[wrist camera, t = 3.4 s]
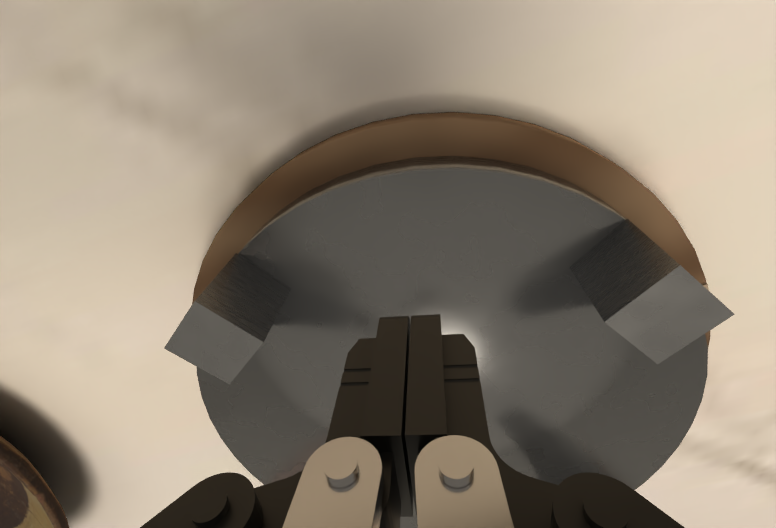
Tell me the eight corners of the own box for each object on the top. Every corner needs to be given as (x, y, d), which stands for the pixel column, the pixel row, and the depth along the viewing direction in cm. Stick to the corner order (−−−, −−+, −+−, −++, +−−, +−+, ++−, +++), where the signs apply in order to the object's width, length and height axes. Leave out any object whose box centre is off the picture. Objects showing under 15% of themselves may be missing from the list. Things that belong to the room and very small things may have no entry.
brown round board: (127, 149, 22) (99, 160, 20) (754, 71, 18) (793, 75, 16) (274, 498, 36) (265, 524, 34) (645, 495, 32) (659, 523, 30)
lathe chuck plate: (139, 188, 20) (36, 243, 15) (743, 120, 17) (895, 160, 12) (280, 519, 33) (252, 613, 28) (640, 517, 30) (688, 624, 24)
